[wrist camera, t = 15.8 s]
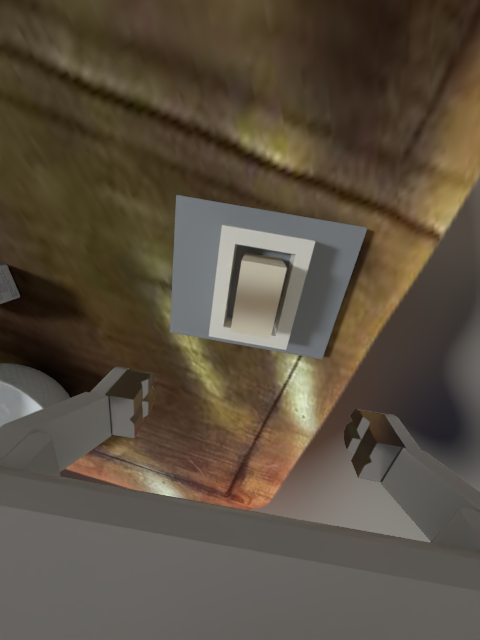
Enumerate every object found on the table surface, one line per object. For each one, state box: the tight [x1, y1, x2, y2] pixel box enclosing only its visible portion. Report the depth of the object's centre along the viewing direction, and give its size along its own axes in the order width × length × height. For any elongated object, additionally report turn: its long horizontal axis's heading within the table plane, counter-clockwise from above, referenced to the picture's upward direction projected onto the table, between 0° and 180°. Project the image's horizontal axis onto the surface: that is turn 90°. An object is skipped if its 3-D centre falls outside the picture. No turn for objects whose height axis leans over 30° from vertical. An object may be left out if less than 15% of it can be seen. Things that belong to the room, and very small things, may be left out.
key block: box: [230, 252, 287, 338], centre depth 25 cm, size 7×4×6 cm, turn 171°
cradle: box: [170, 195, 367, 359], centre depth 27 cm, size 20×16×4 cm
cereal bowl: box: [0, 363, 70, 427], centre depth 35 cm, size 17×17×7 cm
